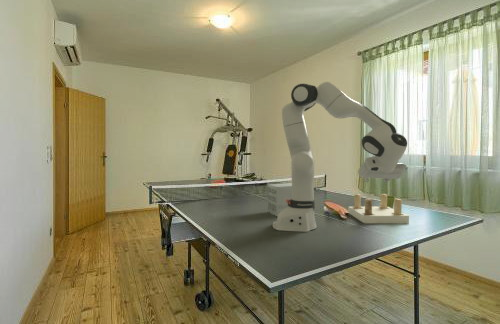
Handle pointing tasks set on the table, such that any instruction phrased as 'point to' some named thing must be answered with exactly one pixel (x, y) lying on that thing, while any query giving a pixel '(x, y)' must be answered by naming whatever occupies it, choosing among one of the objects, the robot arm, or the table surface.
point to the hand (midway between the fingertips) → (375, 181)
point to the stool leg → (368, 206)
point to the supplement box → (278, 197)
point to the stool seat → (379, 211)
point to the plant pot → (390, 201)
